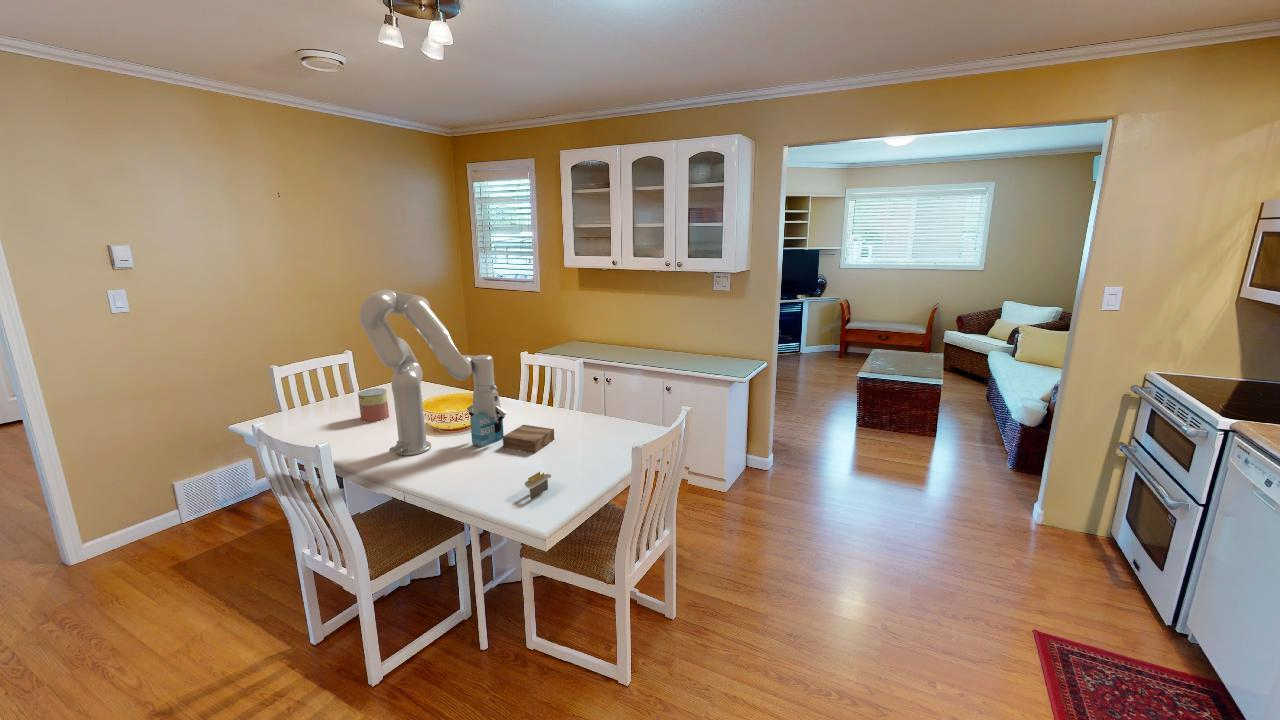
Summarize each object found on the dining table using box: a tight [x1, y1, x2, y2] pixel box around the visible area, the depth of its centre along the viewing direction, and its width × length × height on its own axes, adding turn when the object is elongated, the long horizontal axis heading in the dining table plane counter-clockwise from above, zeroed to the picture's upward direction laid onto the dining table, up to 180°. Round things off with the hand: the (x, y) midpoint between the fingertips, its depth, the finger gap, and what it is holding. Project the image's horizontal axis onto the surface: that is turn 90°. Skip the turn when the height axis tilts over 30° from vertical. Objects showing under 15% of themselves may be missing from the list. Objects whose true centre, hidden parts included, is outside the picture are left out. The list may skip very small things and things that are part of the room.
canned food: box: [357, 387, 390, 423], centre depth 240 cm, size 11×11×12 cm
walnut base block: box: [502, 424, 555, 454], centre depth 212 cm, size 14×14×5 cm
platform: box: [524, 471, 552, 500], centre depth 172 cm, size 12×18×7 cm, turn 150°
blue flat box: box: [469, 414, 504, 448], centre depth 213 cm, size 12×4×12 cm, turn 145°
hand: (487, 430), depth 213 cm, fingers open, 9 cm apart
